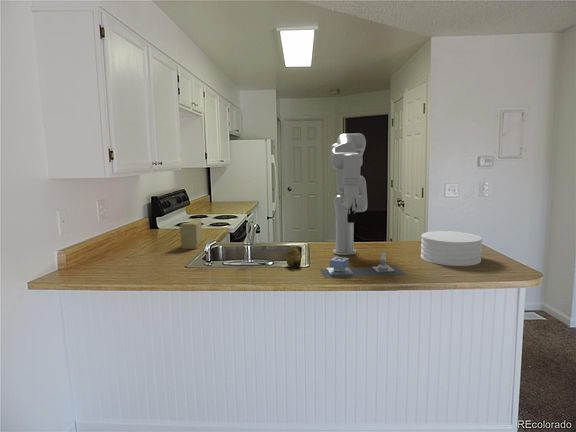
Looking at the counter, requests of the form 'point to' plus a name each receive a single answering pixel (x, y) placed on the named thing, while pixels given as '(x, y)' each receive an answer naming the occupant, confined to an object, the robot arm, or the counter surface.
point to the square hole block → (339, 263)
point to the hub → (339, 271)
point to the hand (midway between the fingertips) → (351, 222)
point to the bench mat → (364, 272)
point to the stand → (383, 266)
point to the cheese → (191, 234)
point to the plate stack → (451, 248)
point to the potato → (293, 258)
